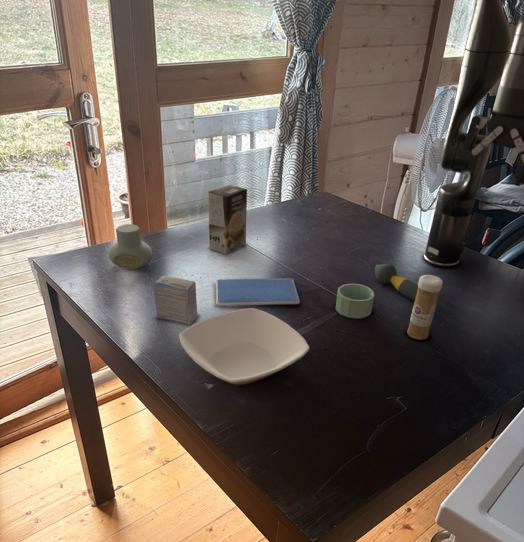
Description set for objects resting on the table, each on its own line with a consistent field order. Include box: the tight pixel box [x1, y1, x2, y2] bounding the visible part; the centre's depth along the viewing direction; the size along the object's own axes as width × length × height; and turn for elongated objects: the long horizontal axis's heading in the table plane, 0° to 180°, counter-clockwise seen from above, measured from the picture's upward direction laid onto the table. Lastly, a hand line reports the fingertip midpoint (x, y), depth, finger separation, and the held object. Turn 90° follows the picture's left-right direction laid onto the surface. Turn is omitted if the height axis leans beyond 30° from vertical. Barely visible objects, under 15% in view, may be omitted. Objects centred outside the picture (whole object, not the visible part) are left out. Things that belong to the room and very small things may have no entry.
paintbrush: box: [374, 263, 418, 302], centre depth 126 cm, size 20×5×5 cm, turn 38°
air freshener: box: [108, 223, 153, 271], centre depth 131 cm, size 11×8×10 cm
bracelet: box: [335, 283, 375, 320], centre depth 118 cm, size 8×8×4 cm
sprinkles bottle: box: [406, 274, 444, 341], centre depth 107 cm, size 5×5×13 cm
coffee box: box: [208, 184, 248, 255], centre depth 141 cm, size 9×6×16 cm
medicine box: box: [153, 275, 198, 325], centre depth 111 cm, size 8×4×9 cm, turn 71°
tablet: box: [215, 277, 301, 307], centre depth 123 cm, size 19×13×1 cm, turn 95°
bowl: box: [178, 307, 310, 386], centre depth 99 cm, size 22×22×5 cm
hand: (495, 180), depth 97 cm, fingers open, 8 cm apart
